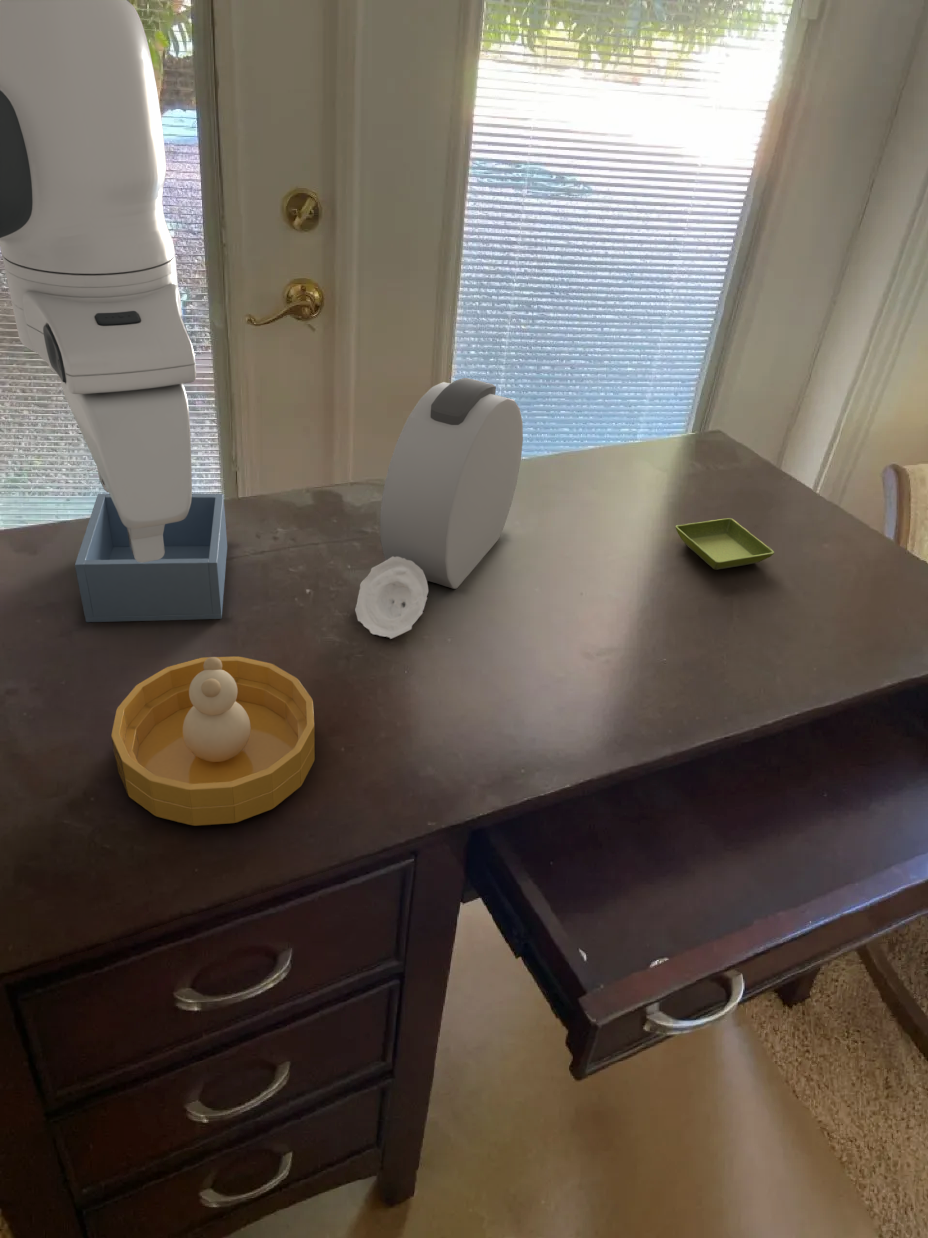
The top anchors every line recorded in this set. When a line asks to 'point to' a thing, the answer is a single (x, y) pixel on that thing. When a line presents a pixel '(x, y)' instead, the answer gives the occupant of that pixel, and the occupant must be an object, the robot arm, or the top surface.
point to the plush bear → (215, 715)
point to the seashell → (392, 597)
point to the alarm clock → (452, 479)
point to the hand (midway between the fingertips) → (131, 519)
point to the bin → (154, 566)
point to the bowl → (205, 789)
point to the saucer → (723, 543)
